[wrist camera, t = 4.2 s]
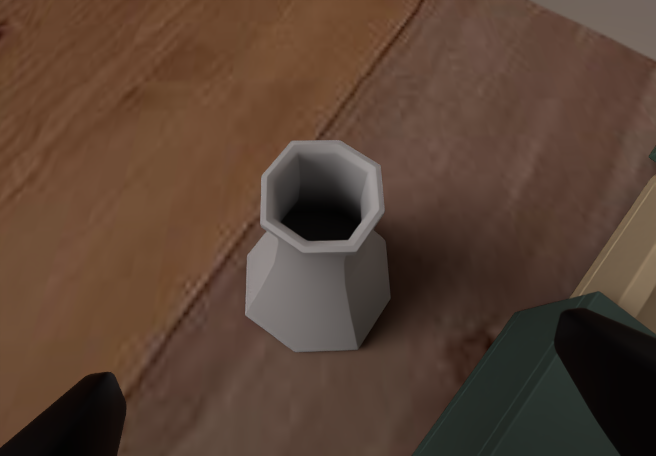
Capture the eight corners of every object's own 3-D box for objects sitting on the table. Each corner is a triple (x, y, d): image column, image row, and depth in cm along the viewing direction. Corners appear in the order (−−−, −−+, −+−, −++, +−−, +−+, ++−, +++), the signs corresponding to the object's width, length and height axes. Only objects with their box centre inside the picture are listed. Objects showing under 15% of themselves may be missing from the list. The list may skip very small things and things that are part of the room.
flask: (220, 329, 18) (120, 290, 9) (272, 193, 20) (237, 47, 11) (371, 375, 18) (437, 388, 8) (405, 231, 20) (488, 112, 11)
